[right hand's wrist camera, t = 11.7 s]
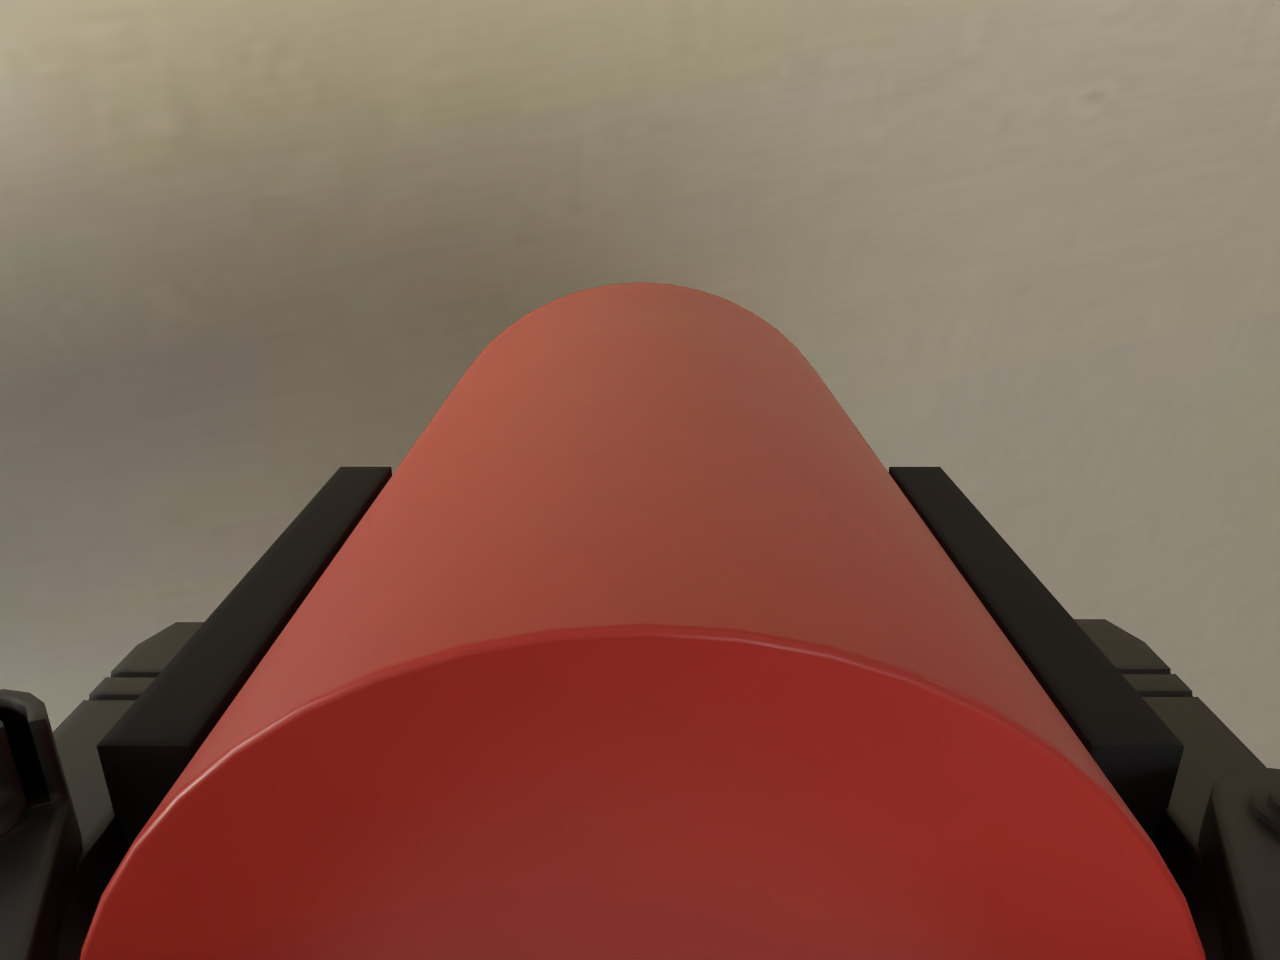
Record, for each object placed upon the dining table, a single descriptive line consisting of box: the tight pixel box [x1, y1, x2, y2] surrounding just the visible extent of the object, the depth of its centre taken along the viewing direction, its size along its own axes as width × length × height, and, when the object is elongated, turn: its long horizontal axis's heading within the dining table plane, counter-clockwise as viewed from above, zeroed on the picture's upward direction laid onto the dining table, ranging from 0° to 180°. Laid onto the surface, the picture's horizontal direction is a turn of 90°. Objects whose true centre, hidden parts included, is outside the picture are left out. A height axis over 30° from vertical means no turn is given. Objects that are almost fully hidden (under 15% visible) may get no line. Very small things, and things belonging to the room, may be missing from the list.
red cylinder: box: [80, 282, 1206, 960], centre depth 11 cm, size 7×7×11 cm
